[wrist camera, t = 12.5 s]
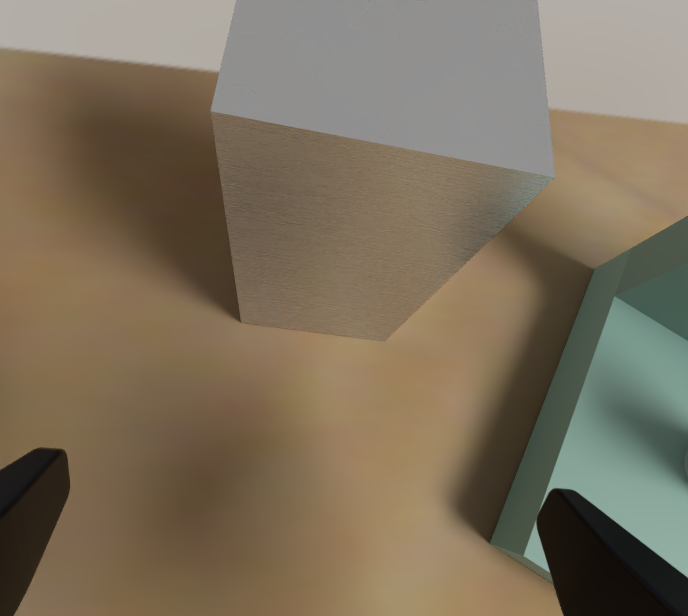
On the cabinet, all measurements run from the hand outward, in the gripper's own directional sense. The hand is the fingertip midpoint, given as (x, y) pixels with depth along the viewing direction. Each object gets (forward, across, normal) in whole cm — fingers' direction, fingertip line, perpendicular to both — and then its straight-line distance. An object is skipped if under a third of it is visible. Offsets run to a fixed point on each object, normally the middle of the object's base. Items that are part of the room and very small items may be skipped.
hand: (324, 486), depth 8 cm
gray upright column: (+10, 0, -1) cm, 10 cm away
